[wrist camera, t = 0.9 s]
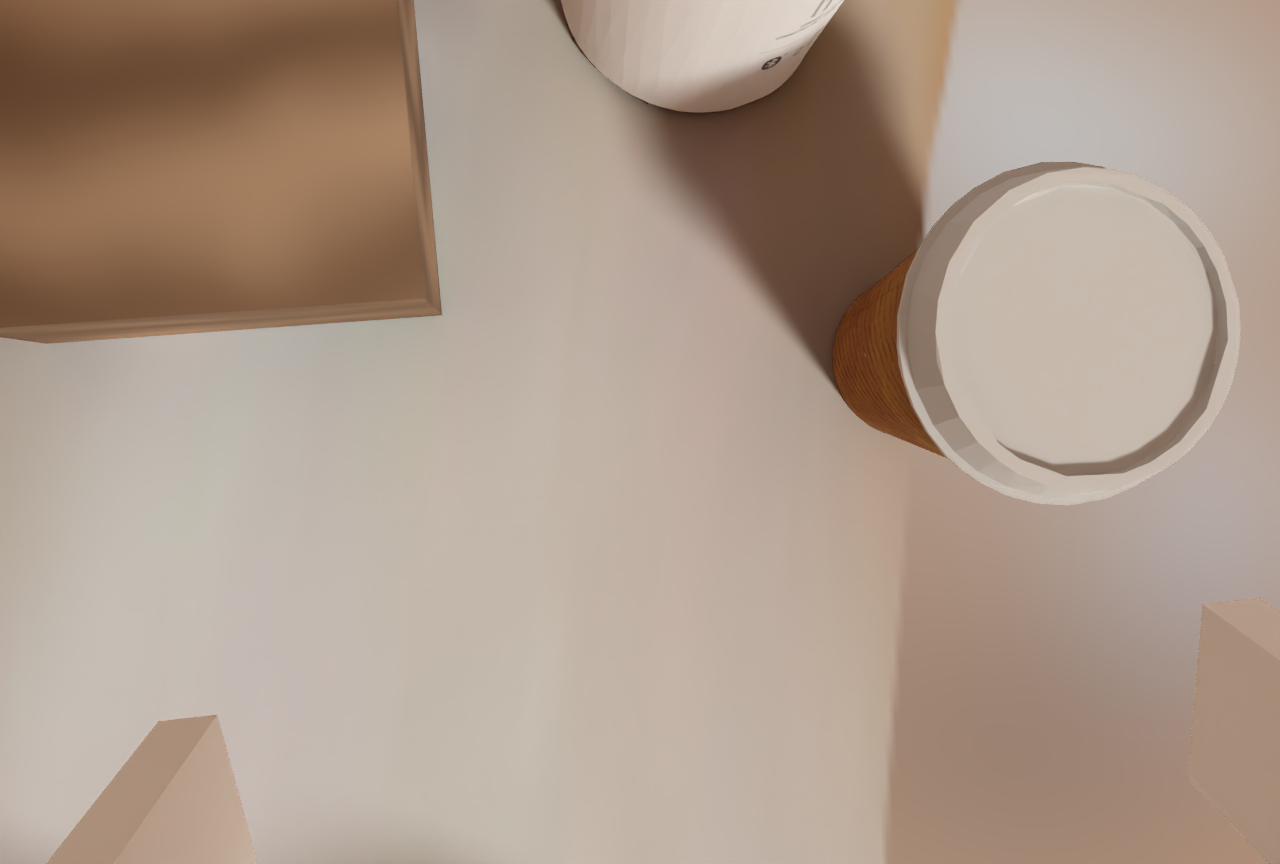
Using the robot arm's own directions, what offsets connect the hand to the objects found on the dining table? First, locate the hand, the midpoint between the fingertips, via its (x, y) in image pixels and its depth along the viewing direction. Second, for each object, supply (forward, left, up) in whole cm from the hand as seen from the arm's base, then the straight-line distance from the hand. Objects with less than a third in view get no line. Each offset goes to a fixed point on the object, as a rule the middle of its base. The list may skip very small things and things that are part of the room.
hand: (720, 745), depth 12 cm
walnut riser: (+16, +12, -23) cm, 30 cm away
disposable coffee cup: (+6, -13, -23) cm, 27 cm away
